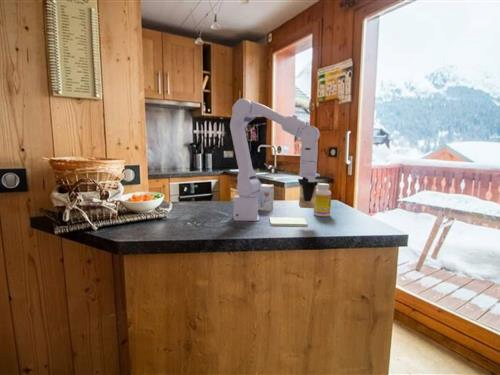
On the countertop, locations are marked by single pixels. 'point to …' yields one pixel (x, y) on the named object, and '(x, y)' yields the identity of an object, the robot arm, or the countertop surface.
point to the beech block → (307, 203)
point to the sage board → (287, 221)
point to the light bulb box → (265, 197)
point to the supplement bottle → (322, 200)
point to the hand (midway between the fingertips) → (306, 199)
